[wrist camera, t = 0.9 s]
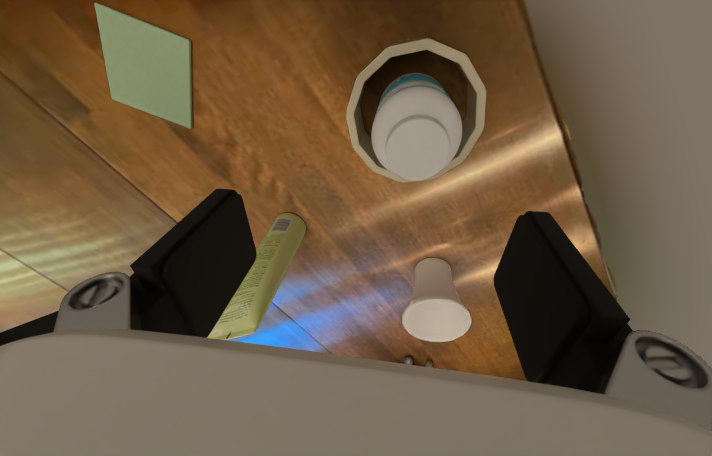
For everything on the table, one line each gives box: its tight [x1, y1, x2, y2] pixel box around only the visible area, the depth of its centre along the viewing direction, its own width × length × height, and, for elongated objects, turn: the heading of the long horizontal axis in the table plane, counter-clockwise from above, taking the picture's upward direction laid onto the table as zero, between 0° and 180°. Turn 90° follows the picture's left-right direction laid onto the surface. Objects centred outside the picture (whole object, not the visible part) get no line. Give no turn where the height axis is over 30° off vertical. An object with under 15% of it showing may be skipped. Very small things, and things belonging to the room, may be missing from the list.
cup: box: [402, 258, 471, 342], centre depth 41 cm, size 9×9×10 cm
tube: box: [207, 213, 306, 340], centre depth 36 cm, size 6×5×20 cm
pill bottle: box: [371, 73, 462, 180], centre depth 26 cm, size 8×7×14 cm
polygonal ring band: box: [346, 36, 486, 183], centre depth 30 cm, size 13×13×5 cm
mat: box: [94, 3, 193, 129], centre depth 33 cm, size 10×10×1 cm
